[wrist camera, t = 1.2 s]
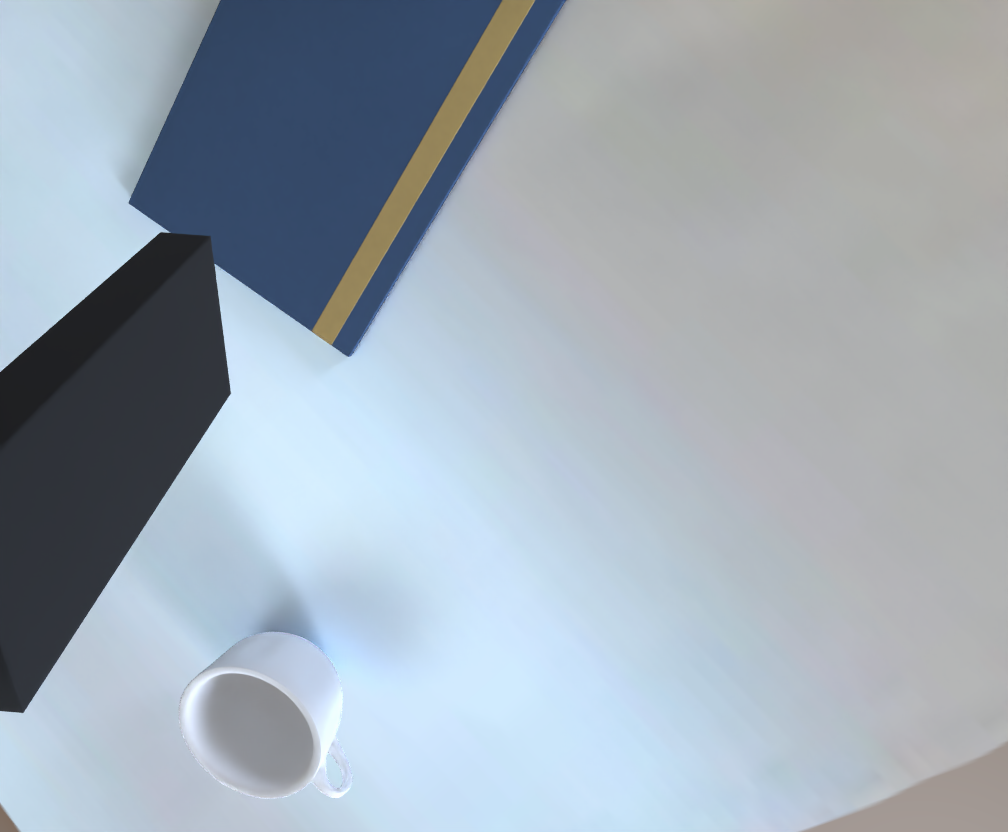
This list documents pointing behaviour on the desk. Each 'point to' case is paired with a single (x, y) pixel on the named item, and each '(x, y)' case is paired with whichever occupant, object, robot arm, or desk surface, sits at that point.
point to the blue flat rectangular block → (332, 140)
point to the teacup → (267, 717)
